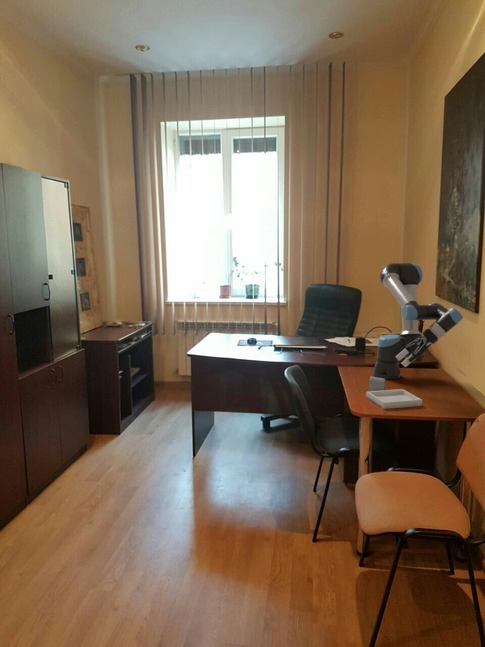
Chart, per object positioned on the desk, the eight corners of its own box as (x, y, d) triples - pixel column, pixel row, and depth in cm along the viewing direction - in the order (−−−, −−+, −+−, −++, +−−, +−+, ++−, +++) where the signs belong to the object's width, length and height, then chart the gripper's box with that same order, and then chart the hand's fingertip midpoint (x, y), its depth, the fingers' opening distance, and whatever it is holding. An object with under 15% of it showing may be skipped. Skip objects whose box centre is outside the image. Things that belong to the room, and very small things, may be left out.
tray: (365, 397, 226) (366, 391, 226) (402, 394, 231) (402, 389, 230) (383, 408, 211) (383, 402, 210) (421, 405, 215) (422, 399, 215)
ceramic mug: (385, 394, 231) (386, 379, 229) (368, 393, 233) (369, 378, 232) (384, 388, 241) (385, 374, 240) (368, 387, 243) (369, 373, 242)
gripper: (446, 344, 216) (411, 373, 220) (431, 334, 240) (399, 361, 244) (435, 332, 215) (400, 362, 219) (421, 324, 240) (390, 351, 244)
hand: (400, 361), depth 232 cm, fingers open, 13 cm apart
